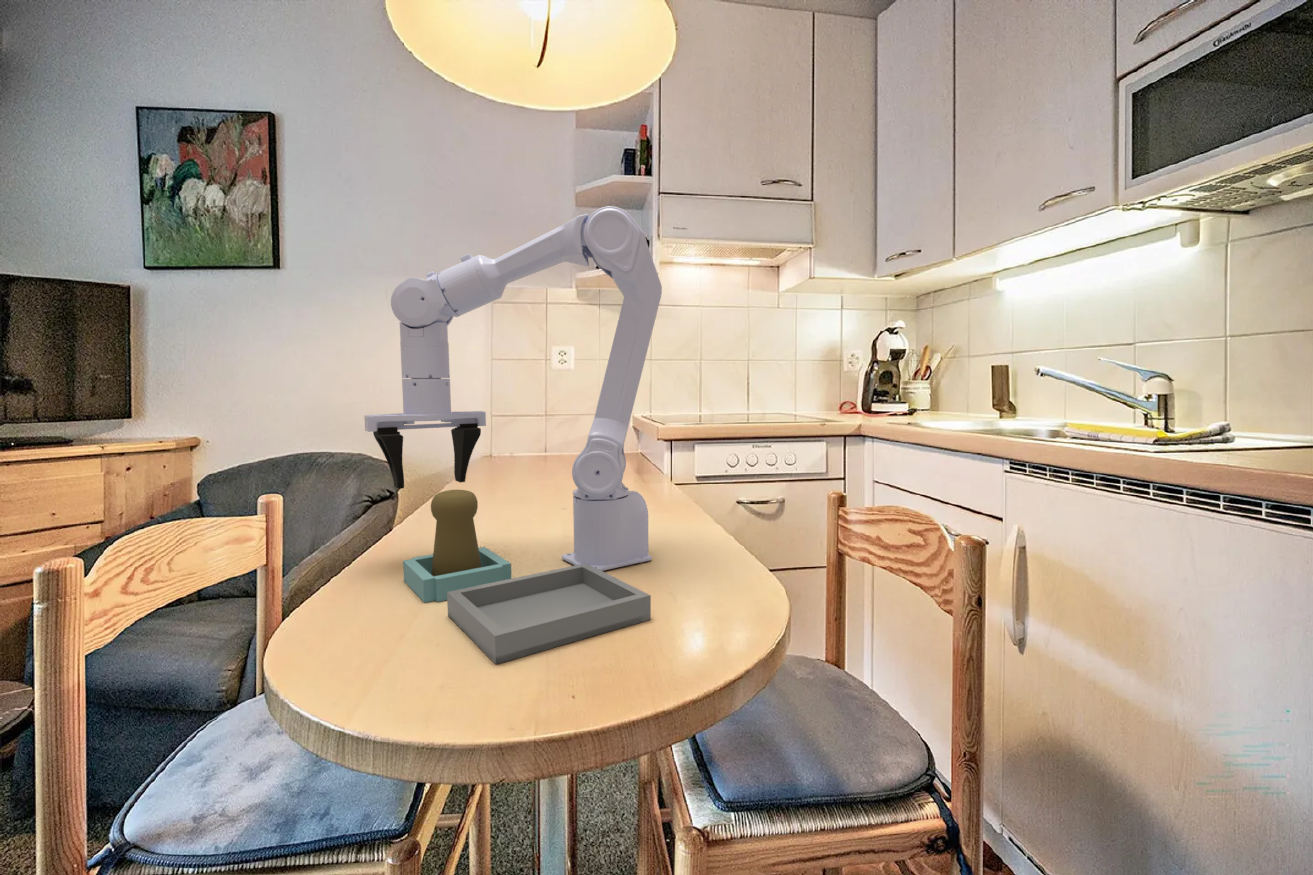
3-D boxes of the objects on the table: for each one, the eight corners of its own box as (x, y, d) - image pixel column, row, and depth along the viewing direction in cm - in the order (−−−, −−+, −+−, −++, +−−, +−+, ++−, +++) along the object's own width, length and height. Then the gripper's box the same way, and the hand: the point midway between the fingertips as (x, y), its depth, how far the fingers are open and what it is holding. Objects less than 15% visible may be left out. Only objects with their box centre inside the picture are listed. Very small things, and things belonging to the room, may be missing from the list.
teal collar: (483, 564, 78) (482, 545, 78) (513, 585, 70) (513, 564, 70) (402, 579, 72) (401, 559, 72) (425, 604, 64) (424, 581, 64)
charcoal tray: (586, 583, 70) (585, 563, 70) (650, 619, 60) (650, 595, 60) (447, 615, 61) (447, 591, 61) (495, 664, 51) (494, 635, 50)
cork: (467, 593, 67) (464, 496, 66) (419, 589, 69) (415, 494, 68) (492, 576, 73) (490, 487, 72) (447, 573, 75) (444, 485, 74)
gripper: (471, 378, 84) (475, 474, 85) (357, 379, 75) (363, 485, 77) (490, 378, 78) (493, 481, 80) (369, 378, 70) (374, 494, 71)
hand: (430, 484), depth 78 cm, fingers open, 7 cm apart
